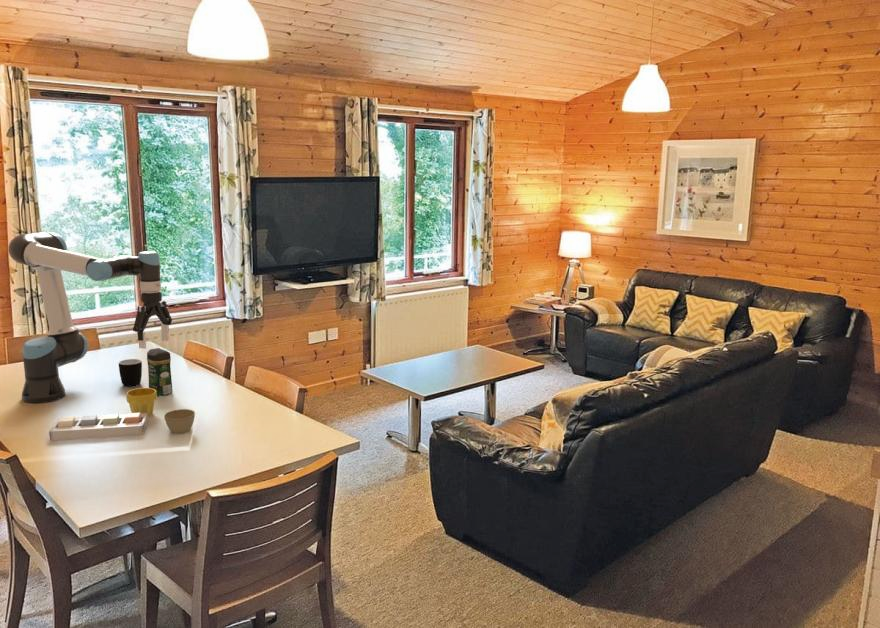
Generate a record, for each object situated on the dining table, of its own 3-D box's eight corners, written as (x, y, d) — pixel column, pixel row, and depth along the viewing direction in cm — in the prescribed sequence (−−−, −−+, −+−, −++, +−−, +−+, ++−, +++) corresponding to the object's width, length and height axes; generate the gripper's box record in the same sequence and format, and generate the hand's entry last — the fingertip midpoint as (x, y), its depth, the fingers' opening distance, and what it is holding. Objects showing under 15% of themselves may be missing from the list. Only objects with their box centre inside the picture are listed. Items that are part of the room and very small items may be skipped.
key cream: (58, 428, 240) (57, 421, 240) (61, 424, 245) (61, 417, 244) (72, 427, 242) (72, 420, 241) (75, 423, 246) (75, 416, 245)
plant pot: (164, 415, 265) (162, 390, 263) (140, 423, 257) (138, 397, 255) (145, 410, 270) (144, 385, 269) (121, 418, 262) (119, 392, 260)
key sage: (103, 425, 244) (102, 418, 243) (105, 421, 248) (105, 414, 248) (117, 424, 245) (116, 418, 245) (119, 420, 249) (118, 413, 249)
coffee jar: (146, 392, 291) (143, 348, 288) (164, 388, 297) (162, 345, 293) (156, 398, 285) (153, 353, 281) (175, 394, 290) (173, 350, 287)
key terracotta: (125, 424, 246) (124, 417, 245) (127, 420, 250) (126, 413, 249) (138, 423, 247) (138, 416, 246) (140, 419, 251) (140, 412, 250)
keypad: (50, 443, 237) (48, 431, 236) (60, 429, 249) (59, 418, 248) (143, 437, 244) (142, 425, 243) (148, 424, 256) (147, 413, 255)
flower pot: (165, 429, 251) (164, 410, 250) (195, 426, 255) (194, 407, 253) (165, 440, 242) (164, 420, 241) (196, 436, 246) (195, 417, 244)
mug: (146, 385, 301) (144, 362, 299) (124, 389, 295) (122, 365, 293) (136, 378, 310) (134, 356, 308) (114, 382, 304) (113, 359, 302)
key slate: (81, 427, 242) (80, 420, 242) (83, 422, 246) (83, 415, 246) (95, 426, 243) (94, 419, 243) (97, 421, 248) (97, 415, 247)
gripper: (137, 297, 264) (140, 352, 268) (179, 287, 288) (182, 338, 292) (120, 295, 266) (124, 350, 270) (163, 286, 290) (166, 336, 294)
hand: (154, 344), depth 281 cm, fingers open, 13 cm apart
